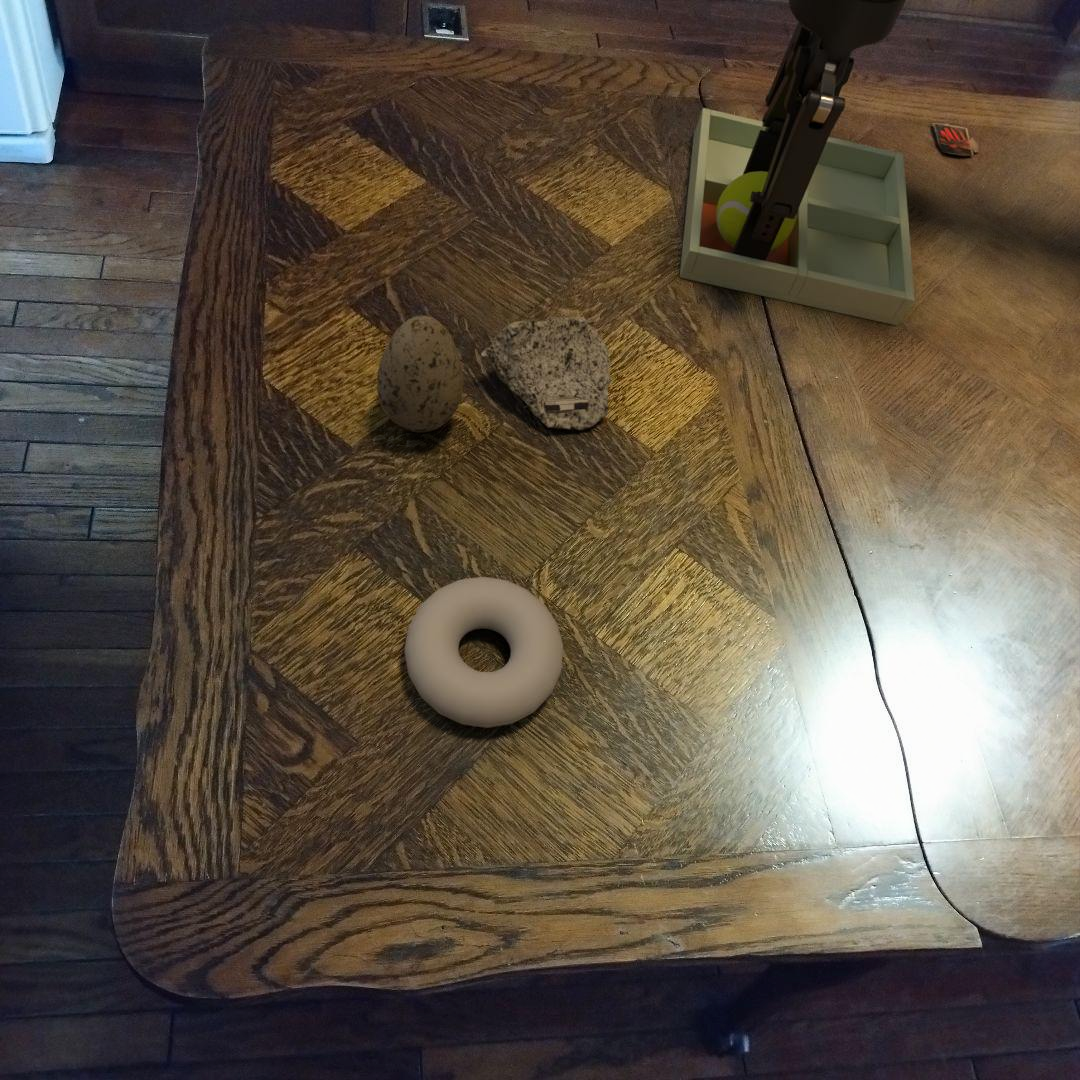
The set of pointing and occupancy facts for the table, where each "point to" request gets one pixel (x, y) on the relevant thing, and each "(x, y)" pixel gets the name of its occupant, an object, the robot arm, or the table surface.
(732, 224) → the tennis ball
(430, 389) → the decorative egg
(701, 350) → the table surface
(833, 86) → the robot arm
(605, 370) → the rock sample
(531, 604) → the donut
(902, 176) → the grid
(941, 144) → the matchbox
